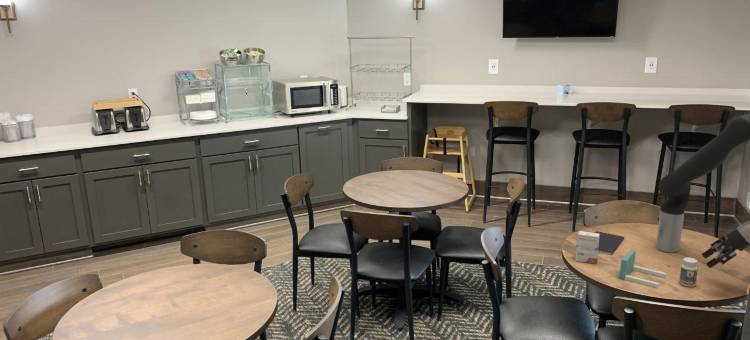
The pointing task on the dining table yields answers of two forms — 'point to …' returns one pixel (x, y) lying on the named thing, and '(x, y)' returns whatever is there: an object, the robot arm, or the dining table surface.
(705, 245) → the dining table surface
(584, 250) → the ink box
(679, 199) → the robot arm
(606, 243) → the notebook
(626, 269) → the pocket
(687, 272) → the pill bottle
